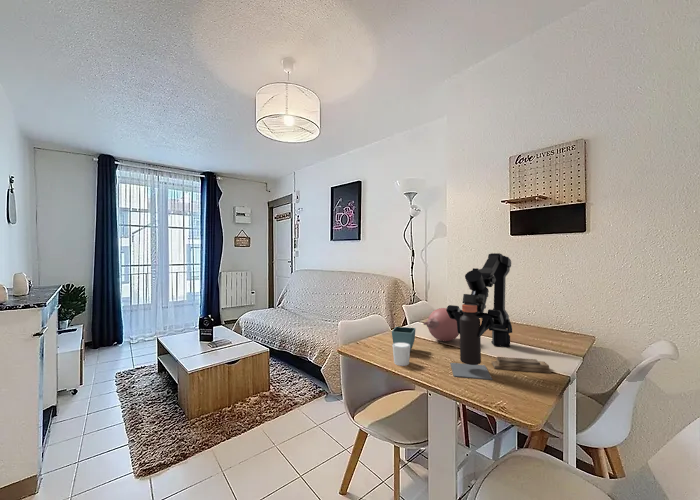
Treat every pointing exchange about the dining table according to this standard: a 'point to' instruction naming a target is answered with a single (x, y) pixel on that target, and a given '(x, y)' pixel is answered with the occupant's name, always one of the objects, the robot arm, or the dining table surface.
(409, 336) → the flower pot
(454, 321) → the pink onion-shaped ball
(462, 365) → the grey mat
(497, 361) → the offcut stack
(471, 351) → the dark water bottle
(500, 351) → the dining table surface
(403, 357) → the white cylinder
